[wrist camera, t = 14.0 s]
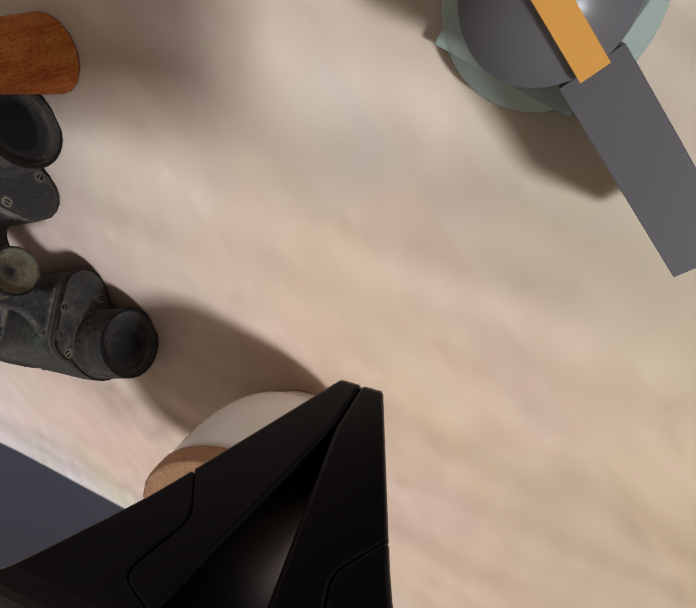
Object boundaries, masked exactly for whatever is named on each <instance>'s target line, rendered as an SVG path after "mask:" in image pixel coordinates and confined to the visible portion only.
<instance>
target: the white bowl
mask: <svg viewBox="0 0 696 608" xmlns="http://www.w3.org/2000/svg"><path fill="white" fill-rule="evenodd" d="M314 396H315V395H313V394H310V393H307V392H301V391H286V392H271V391H269V392H261V393H256V394H251V395H248V396H245V397H242V398H239V399H237V400H235V401H233V402H230V403H229V404H227V405H225V406H224V407H222V408H220V409H219V410H217V411H216V412H215V413H213V414H212V415H210V416H209V417H208V418H206V419H205V420H204V421H203V422H202V423H201V424H199V425H198V426H197V427H196V428H195V429H194V430H193V431H192V432H191V433H190V434H189V435H188V436H187V437H186V438H185V439H184V440H183V441H182V442H181V443H180V444H179V445H178V446H177V448H176V449H175V450H174V451H173V452H172V453H170V454H169V455H167V456H166V457H165V458H164V459H163V460H162V461H161V462H160V463H159V464H158V465H157V466H156V467H155V469H154V470H153V471H152V472H151V473H150V475H149V477H148V479H147V480H146V483H145V488H144V494H143V497H144V499H145V498H147V497H148V496H150V495H152V494H154V493H155V492H157V491H159V490H160V489H162V488H164V487H166V486H167V485H169V484H171V483H173V482H174V481H176V480H177V479H179V478H181V477H182V476H184V475H186V474H187V473H189V472H191V471H192V472H194V471H195V469H196V468H197V467H199V466H201V465H202V464H204V463H206V462H207V461H209V460H211V459H212V458H214V457H215V456H217V455H219V454H220V453H222V452H224V451H225V450H227V449H229V448H230V447H232V446H233V445H235V444H237V443H238V442H240V441H242V440H243V439H245V438H247V437H248V436H250V435H251V434H253V433H255V432H256V431H258V430H260V429H261V428H263V427H265V426H266V425H268V424H269V423H271V422H273V421H274V420H276V419H278V418H279V417H281V416H283V415H284V414H286V413H287V412H289V411H291V410H292V409H294V408H296V407H297V406H299V405H301V404H302V403H304V402H305V401H307V400H309V399H310V398H312V397H314Z"/></svg>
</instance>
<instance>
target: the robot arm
mask: <svg viewBox="0 0 696 608" xmlns="http://www.w3.org/2000/svg"><path fill="white" fill-rule="evenodd" d="M388 542H389V539H388V512H387V485H386V458H385V431H384V404H383V393H382V392H381V391H378V390H375V389H372V388H368V387H362V388H361V387H360V385H358V384H354V383H351V382H348V381H344V380H341V381H338V382H337V383H335V384H333V385H332V386H330V387H328V388H327V389H325V390H324V391H322V392H320V393H319V394H317V395H315V396H314V397H312V398H310V399H309V400H307V401H305V402H304V403H302V404H301V405H299V406H297V407H296V408H294V409H292V410H291V411H289V412H287V413H286V414H284V415H283V416H281V417H279V418H278V419H276V420H274V421H273V422H271V423H269V424H268V425H266V426H265V427H263V428H261V429H260V430H258V431H256V432H255V433H253V434H251V435H250V436H248V437H247V438H245V439H243V440H242V441H240V442H238V443H237V444H235V445H233V446H232V447H230V448H229V449H227V450H225V451H224V452H222V453H220V454H219V455H217V456H215V457H214V458H212V459H211V460H209V461H207V462H206V463H204V464H202V465H201V466H199V467H197V468H196V469H195V471H194V472H192V471H191V472H189V473H187V474H186V475H184V476H182V477H181V478H179V479H177V480H176V481H174V482H173V483H171V484H169V485H167V486H166V487H164V488H162V489H160V490H159V491H157V492H155V493H154V494H152V495H150V496H148V497H147V498H145V499H143V500H141V501H139V502H137V503H135V504H134V505H132V506H130V507H128V508H126V509H124V510H122V511H120V512H118V513H116V514H114V515H112V516H111V517H109V518H107V519H104V520H103V521H100V522H98V523H96V524H94V525H93V526H90V527H88V528H86V529H84V530H83V531H80V532H78V533H76V534H74V535H72V536H70V537H68V538H66V539H64V540H62V541H60V542H58V543H56V544H54V545H52V546H50V547H48V548H46V549H44V550H42V551H40V552H38V553H36V554H34V555H32V556H30V557H27V558H25V559H23V560H21V561H19V562H16V563H14V564H12V565H9V566H7V567H4V568H2V569H0V608H393V604H392V592H391V578H390V560H389V546H388Z"/></svg>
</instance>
